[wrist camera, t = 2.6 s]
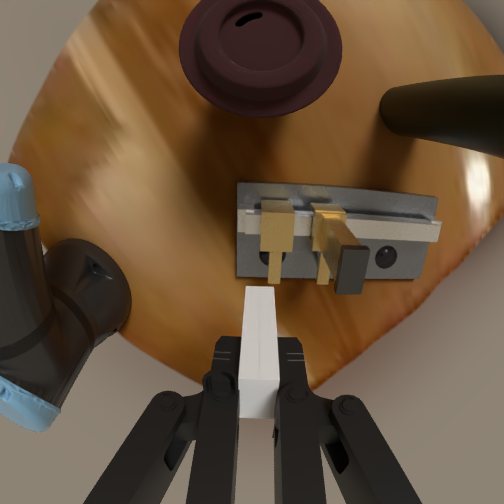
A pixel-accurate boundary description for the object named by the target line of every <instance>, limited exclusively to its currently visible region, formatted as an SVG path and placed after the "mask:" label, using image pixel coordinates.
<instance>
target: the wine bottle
mask: <svg viewBox="0 0 504 504" xmlns="http://www.w3.org/2000/svg"><path fill="white" fill-rule="evenodd" d="M380 113H381V117H382V119H383V122H384V123H385V125H386V126H387V127H388V128H389V129H390V130H391V131H392V132H393V133H395V134H397V135H401V136H407V137H413V138H418V139H424V140H429V141H435V142H439V143H444V144H449V145H454V146H458V147H462V148H466V149H470V150H474V151H478V152H482V153H486V154H489V155H493V156H496V157H500V158H503V159H504V75H487V76H473V77H462V78H452V79H444V80H436V81H429V82H423V83H416V84H410V85H405V86H399V87H394V88H391V89H389V90H388V91H387V92H386V93H385V94H384V95H383V97H382V99H381V103H380Z"/></svg>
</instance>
